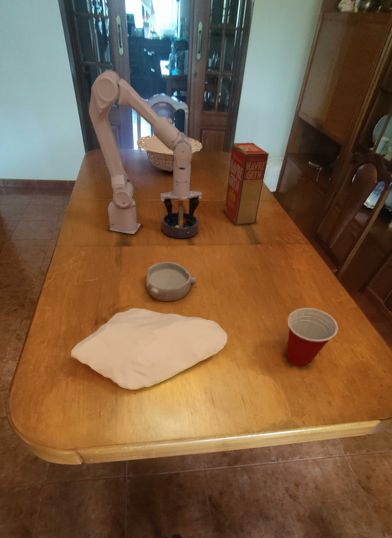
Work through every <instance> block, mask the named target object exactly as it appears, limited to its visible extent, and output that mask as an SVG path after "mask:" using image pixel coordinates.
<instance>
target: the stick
mask: <svg viewBox="0 0 392 538" xmlns="http://www.w3.org/2000/svg"><path fill="white" fill-rule="evenodd" d="M177 209H178V210H177V212H178V226H179V227H180V228H183V212H184V206H178V208H177Z"/></svg>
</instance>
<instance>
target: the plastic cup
mask: <svg viewBox="0 0 392 538" xmlns="http://www.w3.org/2000/svg"><path fill="white" fill-rule="evenodd" d="M287 327H288V337H287V345H286V346H287V347H286V351H285V353H286V359H287V361H288V362H289V363H290V364H291V365H293V366H296V367H299V368H300V367H301V368H302V367H306V366H308V365H309V364H310V363H311V362H312V361H313V360H314V358H316V357H317V356H318V354H319V353H320V352H321V350H322V349H323V348H324V347H325V346H326V344H328V342H329V341H330V340H332V338H334V337H335V336H336V335H337V333H338V330H339V326H338V323H337V320H335V319H334V317H333V316H332V315H331V314H330V313H327V312H326V311H324V310H321V309H319V308H314V307H300V308H297V309H295V310H293V311H292V312H290V313H289V315H288V316H287Z"/></svg>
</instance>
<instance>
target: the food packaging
mask: <svg viewBox="0 0 392 538" xmlns="http://www.w3.org/2000/svg"><path fill="white" fill-rule="evenodd" d="M269 155H270V154H269V153H268V152H267V151H266V150H264V149H262V148H261V147H260V146H258V145H257V144H255V143H254V142H233V143H232V144H231V151H230V160H229V169H228V178H227V186H226V187H227V188H226V196H225V204H224V209H223V210H224V211H223V212H224V213H225V214H226V215H227V217H228V218H229V219H230V220H231V221H232V223H233V224H234V225H235V226H238V225H239V226H240V225H251V224H255V223H256V221H257V215H258V210H259V206H260V200H261V195H262V190H263V185H264V180H265V174H266V169H267V166H268V161H269Z"/></svg>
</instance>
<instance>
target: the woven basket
mask: <svg viewBox="0 0 392 538" xmlns="http://www.w3.org/2000/svg"><path fill="white" fill-rule="evenodd" d="M188 139H189V140H190V142H191V146H192V156H191V160H192V159H193V155H194V153H196V152H200V151H201V150H202V149H203V145H202V143H201V142H200V141H199V140H198V139H194V138H192V137H188ZM136 145H137V146H138V148H140V149H143V150H144V151H145V152H146V156H147V158H148V160H149V162H150V163H151V164H152V165H153V166H154V167H156V168H157V169H159V170H163V171H167V172H169V173H171V172H173V164H174V155H173V151H172V150H170V149H168V148H167V147H166V146H165V145H164V144H163V143H162V142H161V141H160V140H159V139H158V138H157V137H156V136H155V135H154V134H151V135H146V136H141V137H140V138H139V139H137V140H136Z"/></svg>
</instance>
